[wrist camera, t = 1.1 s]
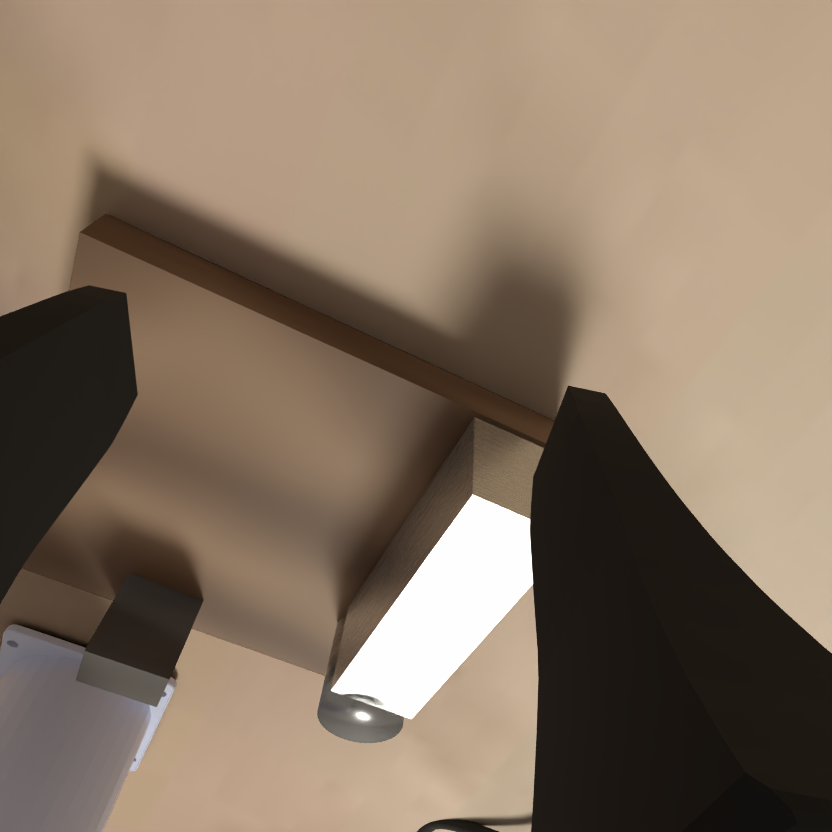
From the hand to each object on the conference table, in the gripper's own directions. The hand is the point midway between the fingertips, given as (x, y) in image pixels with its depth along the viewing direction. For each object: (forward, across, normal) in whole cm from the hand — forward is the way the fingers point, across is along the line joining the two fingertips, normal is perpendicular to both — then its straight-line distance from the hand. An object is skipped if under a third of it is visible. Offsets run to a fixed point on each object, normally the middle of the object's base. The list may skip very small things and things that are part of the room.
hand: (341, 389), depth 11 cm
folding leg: (+7, -3, +12) cm, 14 cm away
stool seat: (+8, +3, +12) cm, 15 cm away
